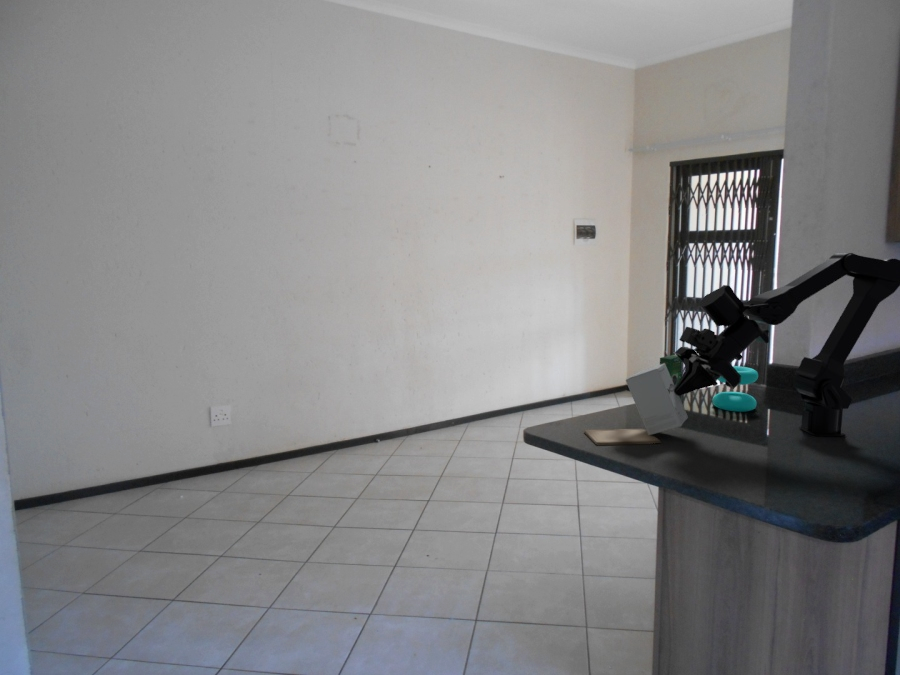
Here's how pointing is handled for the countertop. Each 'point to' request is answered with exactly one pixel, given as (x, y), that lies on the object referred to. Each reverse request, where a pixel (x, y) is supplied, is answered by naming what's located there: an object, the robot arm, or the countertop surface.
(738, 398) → the donuts
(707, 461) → the countertop surface
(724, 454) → the countertop surface
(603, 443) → the wooden board
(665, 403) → the supplement box
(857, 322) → the robot arm
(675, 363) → the coffee box
